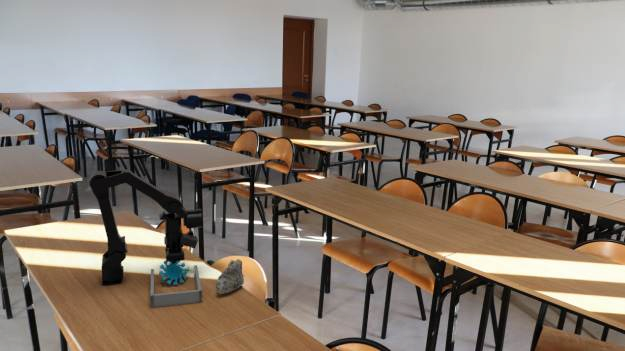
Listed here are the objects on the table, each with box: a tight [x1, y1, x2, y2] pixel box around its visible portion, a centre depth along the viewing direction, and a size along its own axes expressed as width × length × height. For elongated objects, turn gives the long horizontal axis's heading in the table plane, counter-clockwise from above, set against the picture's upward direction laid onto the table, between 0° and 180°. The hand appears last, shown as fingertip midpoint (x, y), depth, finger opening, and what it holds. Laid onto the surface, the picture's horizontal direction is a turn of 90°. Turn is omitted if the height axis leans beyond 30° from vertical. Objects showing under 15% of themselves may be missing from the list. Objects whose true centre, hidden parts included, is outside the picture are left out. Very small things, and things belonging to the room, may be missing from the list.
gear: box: [158, 259, 191, 286], centre depth 166 cm, size 11×6×10 cm
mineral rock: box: [215, 259, 245, 295], centre depth 162 cm, size 13×11×10 cm
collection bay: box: [149, 264, 203, 308], centre depth 159 cm, size 16×20×4 cm
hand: (174, 268), depth 172 cm, fingers closed
